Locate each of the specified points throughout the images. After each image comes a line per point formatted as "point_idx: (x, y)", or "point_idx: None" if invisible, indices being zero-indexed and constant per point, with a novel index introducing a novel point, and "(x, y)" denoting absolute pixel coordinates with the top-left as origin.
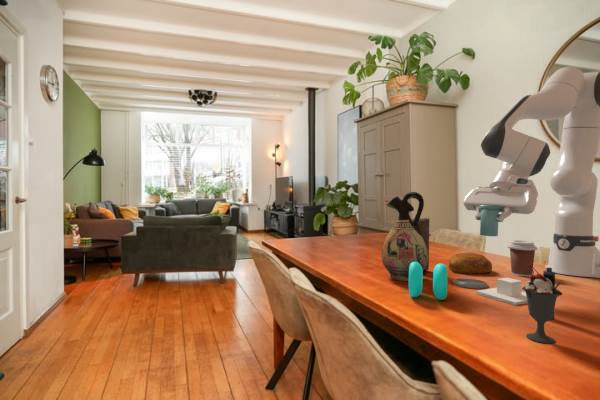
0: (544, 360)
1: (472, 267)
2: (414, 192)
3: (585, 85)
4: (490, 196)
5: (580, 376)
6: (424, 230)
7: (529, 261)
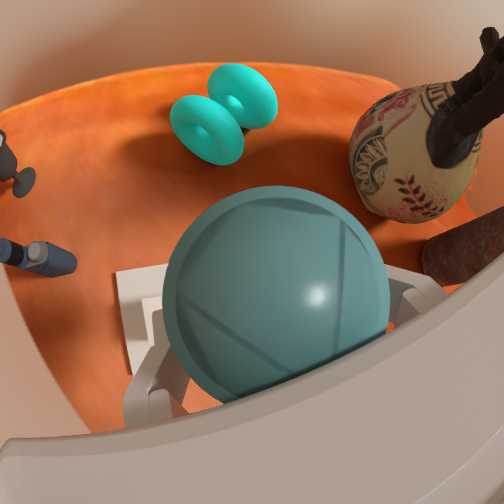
0: (8, 146)
1: None
2: None
3: None
4: (466, 435)
5: None
6: (500, 233)
7: None
